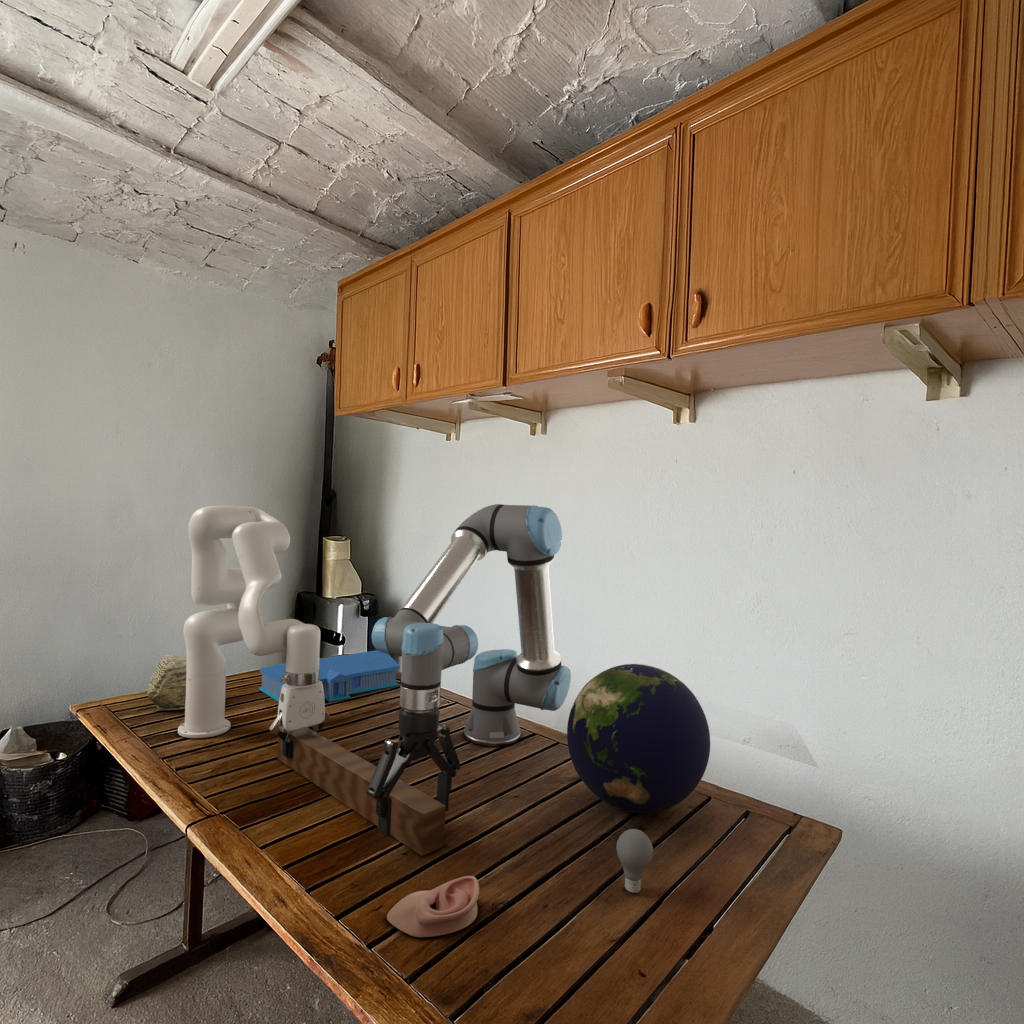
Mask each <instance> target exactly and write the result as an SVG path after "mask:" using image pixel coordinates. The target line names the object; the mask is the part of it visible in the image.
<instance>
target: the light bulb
mask: <svg viewBox="0 0 1024 1024" xmlns="http://www.w3.org/2000/svg"><path fill="white" fill-rule="evenodd" d="M615 849H616V854H617V857H618V859H619V861H620V863H621V865H622V867H623V873H624V874H623V875H624V876H625V878H624V888H625V890H627V891H628V892H630V893H634V894H635V893H639V892H640V891H641V889H642V887H641V886H642V879H643V877H644V875H645V871H646V868H647V867H648V866H649V864H650V863H651V861H652V859H653V855H654V847H653V843H652V841H651V838H649V836H648V835H647V834H646V833H645V832H643V831H642V830H641V829H636V828H629V829H627V830H625V831H623V832H622V833H621V834H620V835H619V837H618V839H617V841H616V847H615Z"/></svg>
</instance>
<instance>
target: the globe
mask: <svg viewBox="0 0 1024 1024" xmlns="http://www.w3.org/2000/svg"><path fill="white" fill-rule="evenodd" d="M566 725H567V726H566V740H567V741H566V742H567V749H568V753H569V757H570V760H571V762H572V765H573V767H574V770H575V771H576V773H577V775H578V777H579V778H580V780H581V781H582V782H583V784H584V785H585V786H586V787H587V789H589V791H590V792H591V793H592V794H593V795H594V796H596V797H597V798H598V799H600V800H601V801H603V803H606V804H607V805H609V806H611V807H613V808H616V809H617V810H621V811H625V812H628V813H633V814H634V813H635V814H653V813H658V812H662V811H665V810H668V809H671V808H672V807H673V808H674V807H675V806H676V805H679V804H680V803H681V802H683V801H684V800H685V799H686V798H688V797H689V796H690V795H691V794H692V793H693V792H694V790H695V789H696V788H697V787H698V785H699V784H700V782H701V780H702V779H703V777H704V775H705V772H706V770H707V766H708V764H709V759H710V754H711V733H710V727H709V723H708V719H707V717H706V714H705V712H704V709H703V707H702V705H701V703H700V702H699V700H698V699H697V697H696V695H695V694H694V693H693V692H692V690H691V689H690V688H689V687H688V686H687V685H686V684H685V682H683V681H681V680H680V679H679V678H677V677H676V676H675V675H673V674H671V673H670V672H668V671H665V670H664V669H661V668H659V667H656V666H652V665H648V664H644V663H628V664H626V663H625V664H620V665H615V666H613V667H609V668H608V669H605V670H603V671H602V672H601V671H600V672H599V673H598V674H597V675H595V676H594V677H592V678H591V679H590V680H589V681H588V682H586V684H584V686H583V687H582V688H581V689H580V691H579V692H578V694H577V695H576V697H575V699H574V701H573V703H572V706H571V708H570V712H569V715H568V720H567V724H566Z"/></svg>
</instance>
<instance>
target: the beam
mask: <svg viewBox="0 0 1024 1024" xmlns="http://www.w3.org/2000/svg"><path fill="white" fill-rule="evenodd" d="M279 730H280V731H282V730H283V726H279ZM291 742H293V749H292V758H291V759H288V758H286V757H285V756H283V754H282V739H281V738H279V737H278V736H277V754H276V759H277V760H278V761H280V762H281V763H283V764H285V765H286V766H288V767H289V768H290V769H292V770H294V771H295V772H296V773H298V774H299V775H301V776H302V777H304V778H305V779H306V780H308V781H310V782H311V783H312V784H314V785H316V786H317V787H318V788H320V789H322V790H323V791H324V792H326V793H327V794H328V795H330V796H332V797H334V798H335V799H337V801H339V802H340V803H342V804H344V805H345V806H347V807H348V808H349V809H351V810H353V811H354V812H356V813H357V814H358V815H360V816H361V817H362V818H364V819H366V820H368V821H369V822H371V823H372V824H373V825H375V826H376V827H378V818H379V816H378V815H377V814H376V799H374V798H373V797H371V796H369V795H368V794H367V789H368V787H369V784H370V782H371V779H372V777H373V775H374V772H375V770H376V767H377V765H375V764H374V763H372V762H370V761H368V760H365V758H362V757H361V756H359V755H358V754H355V753H354V752H352V751H350V750H348V749H346V748H344V747H343V746H341V745H339V744H337V743H336V742H334V741H332V740H330V739H329V738H327V737H325V736H323V735H321V734H320V733H319V734H318V733H316V732H314V731H313V730H311V729H309V728H308V727H306V728H302V729H298V730H294V731H293V734H292V737H291ZM383 791H384V790H383ZM389 797H391V798H392V806H391V827H390V835H389V836H391V837H392V838H394V839H395V840H397V841H399V842H400V843H402V844H403V845H404V846H406V847H408V848H409V849H410V850H412V851H413V852H414V853H416V854H418V855H419V856H421V857H423V856H426V855H428V854H429V853H432V852H435V851H436V850H438V849H440V848H442V847H445V830H446V829H445V827H446V812H445V806H446V805H444V804H442V803H441V802H439V801H437V799H435V798H434V797H432V796H430V795H428V794H426V793H424V792H423V791H421V790H420V789H418V788H415V787H414V786H412V785H411V784H408V783H407V782H405V781H403V780H401V779H400V778H399V780H398V781H397V783H396V785H395V786H394V788H393V790H392V791H391V793H390V795H389Z"/></svg>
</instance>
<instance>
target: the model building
mask: <svg viewBox="0 0 1024 1024" xmlns="http://www.w3.org/2000/svg"><path fill="white" fill-rule="evenodd" d="M397 670H401V665H400V664H399V663H398V662H397V661H396V660H395V659H394V658H393V656H392V655H389V654H386V653H383V652H380V651H378V650H377V649H375V650H368V651H363V652H356V653H349V654H342V655H341V654H340V655H335V656H329V657H328V656H327V657H320V659H319V681H322V685H323V691H324V700H325V701H327V702H329V703H330V702H335V701H341V700H346V699H347V700H348V699H350V698H351V695H353V694H359V693H364V692H365V693H366V692H369V691H373V690H381V689H385V688H390V687H391V688H392V687H395V686H399V683H398V682H397ZM259 672H260V673H261V686H260V687H258V690H260V691H261V692H262V693H264V694H265V695H267V696H268V697H270V698H271V699H273V700H274V701H276V702H277V703H279V699H280V694H281V689H282V686H283V684H285V682H281V681H280V677H281V676H284V675H285V672H286V662H285V663H278V664H272V665H268V666H264V667H263V666H262V667H260V668H259Z"/></svg>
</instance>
